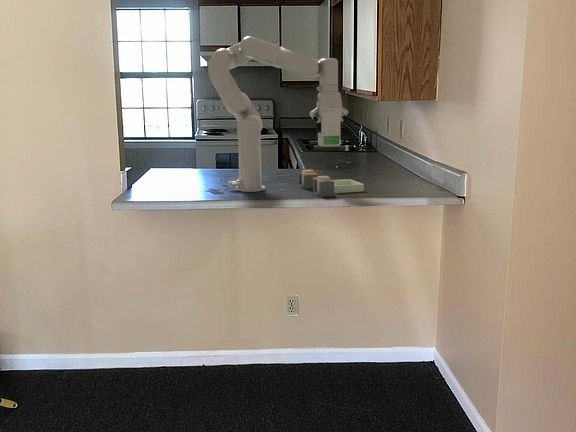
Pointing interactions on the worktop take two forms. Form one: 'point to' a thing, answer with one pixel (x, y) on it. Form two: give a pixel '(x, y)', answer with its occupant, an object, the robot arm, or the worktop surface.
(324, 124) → the skincare box
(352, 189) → the tray
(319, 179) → the cartridges
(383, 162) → the worktop surface
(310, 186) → the rail
